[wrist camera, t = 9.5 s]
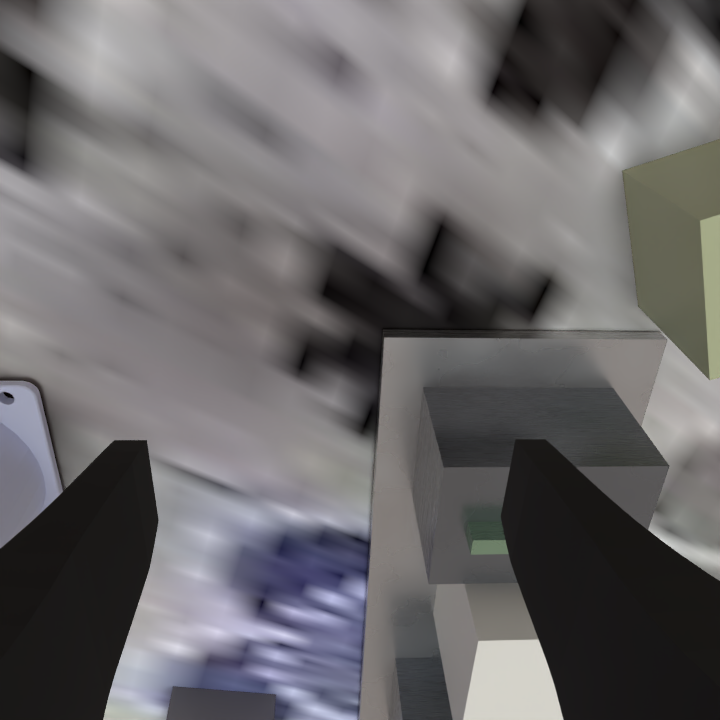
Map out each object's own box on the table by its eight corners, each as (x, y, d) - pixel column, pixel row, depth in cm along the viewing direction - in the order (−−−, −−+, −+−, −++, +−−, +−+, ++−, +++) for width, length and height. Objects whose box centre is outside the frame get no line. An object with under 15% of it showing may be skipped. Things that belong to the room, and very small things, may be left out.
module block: (432, 619, 30) (456, 753, 25) (447, 512, 27) (478, 641, 22) (519, 617, 30) (560, 750, 25) (544, 511, 27) (597, 638, 22)
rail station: (357, 734, 35) (364, 863, 30) (382, 329, 23) (401, 428, 18) (542, 728, 36) (580, 853, 31) (659, 331, 24) (752, 428, 19)
